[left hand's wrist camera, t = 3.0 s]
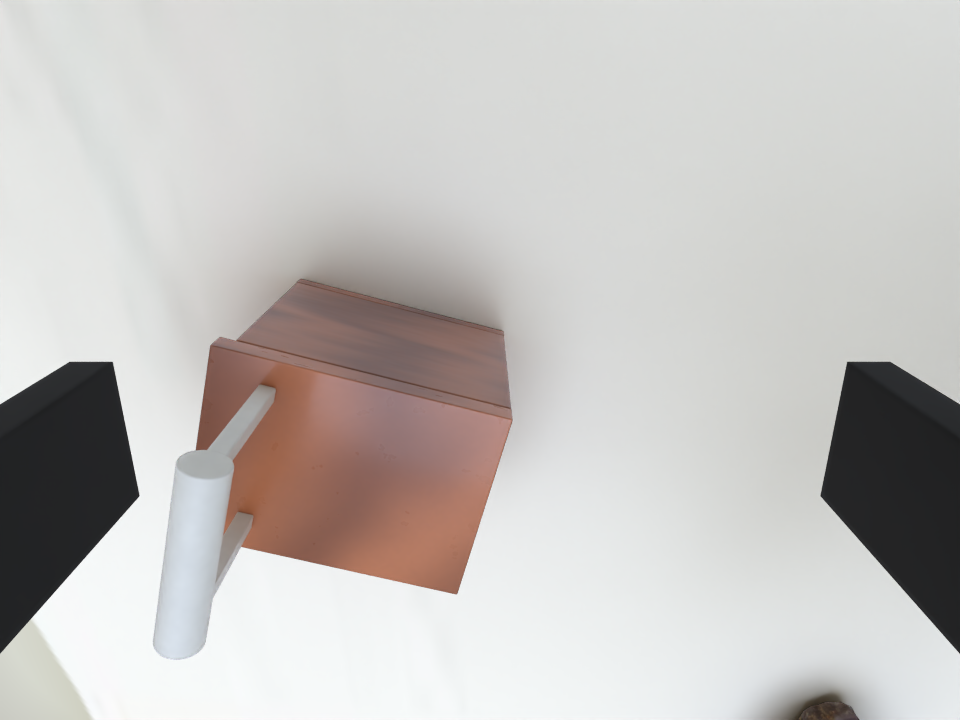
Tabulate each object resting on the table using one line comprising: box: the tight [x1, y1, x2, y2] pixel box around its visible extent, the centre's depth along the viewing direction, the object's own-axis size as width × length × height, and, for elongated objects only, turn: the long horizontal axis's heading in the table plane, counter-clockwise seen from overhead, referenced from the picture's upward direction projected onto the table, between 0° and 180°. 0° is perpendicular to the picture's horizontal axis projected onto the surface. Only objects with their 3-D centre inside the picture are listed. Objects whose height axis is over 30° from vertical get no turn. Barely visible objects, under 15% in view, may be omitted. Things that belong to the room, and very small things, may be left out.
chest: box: [236, 279, 511, 409], centre depth 34 cm, size 12×9×10 cm
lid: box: [153, 337, 512, 660], centre depth 25 cm, size 12×9×8 cm
